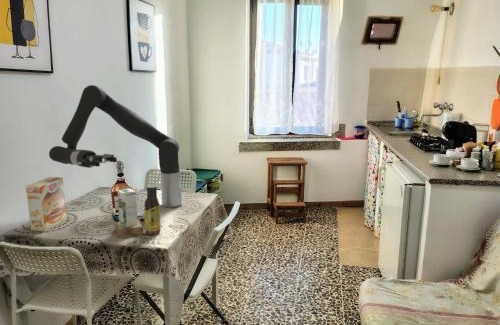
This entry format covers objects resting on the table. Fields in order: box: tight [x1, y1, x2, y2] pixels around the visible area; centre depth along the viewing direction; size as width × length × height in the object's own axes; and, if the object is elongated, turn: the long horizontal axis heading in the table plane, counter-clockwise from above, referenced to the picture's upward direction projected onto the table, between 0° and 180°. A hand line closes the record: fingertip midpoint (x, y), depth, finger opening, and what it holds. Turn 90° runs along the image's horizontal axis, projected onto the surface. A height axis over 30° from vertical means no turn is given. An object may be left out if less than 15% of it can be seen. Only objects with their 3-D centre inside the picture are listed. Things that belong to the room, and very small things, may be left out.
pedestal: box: [115, 218, 144, 239], centre depth 156 cm, size 10×10×3 cm
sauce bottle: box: [143, 184, 162, 236], centre depth 153 cm, size 6×6×20 cm
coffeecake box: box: [25, 176, 68, 232], centre depth 161 cm, size 15×7×20 cm, turn 172°
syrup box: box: [117, 188, 138, 227], centre depth 154 cm, size 6×6×14 cm
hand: (107, 161), depth 157 cm, fingers open, 8 cm apart
